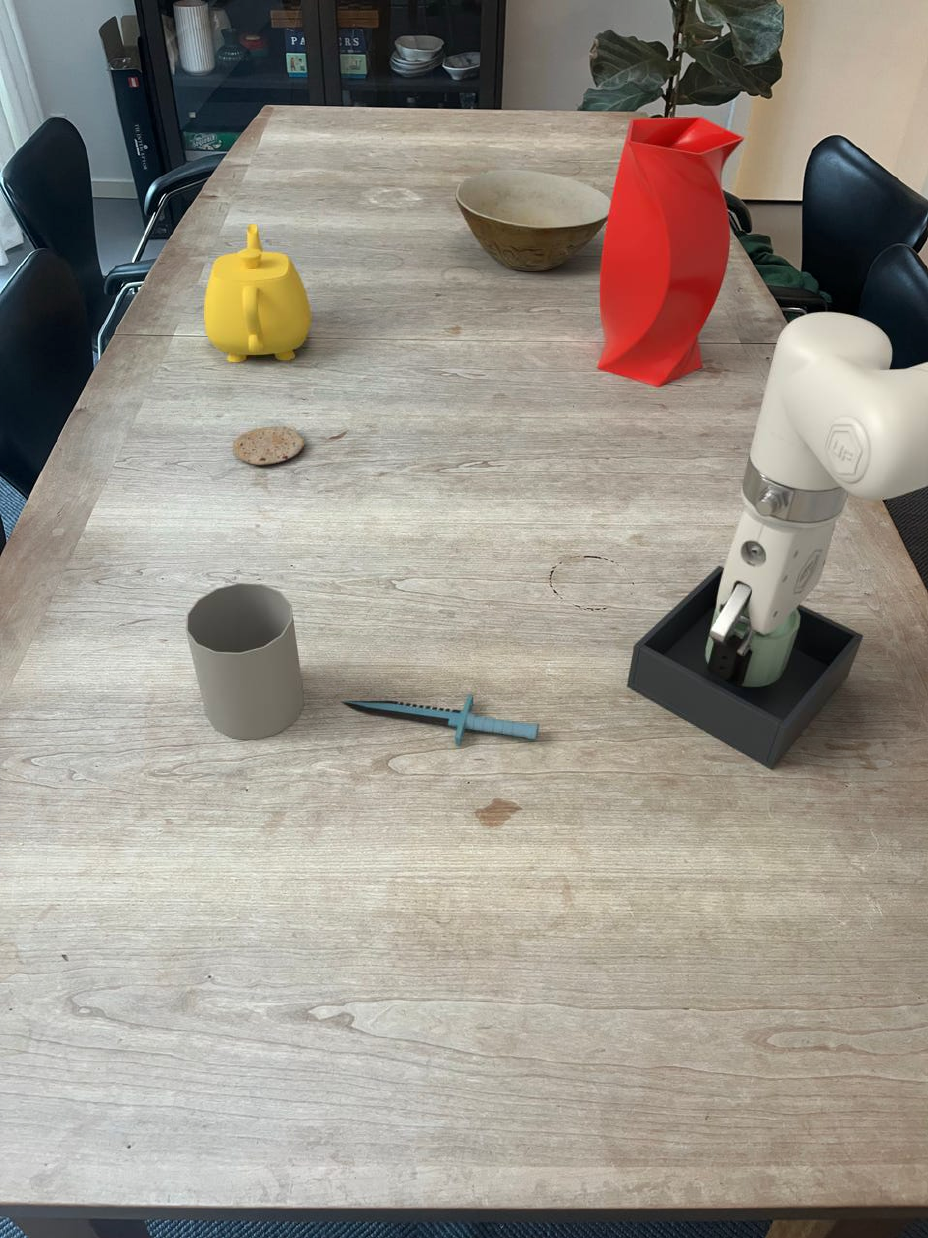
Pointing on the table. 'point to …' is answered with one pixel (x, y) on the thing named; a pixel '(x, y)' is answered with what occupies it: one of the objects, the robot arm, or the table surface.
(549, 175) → the bowl
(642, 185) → the vase
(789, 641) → the green tumbler
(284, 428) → the flatbread
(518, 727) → the knife
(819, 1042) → the table surface
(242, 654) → the cup
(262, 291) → the teapot
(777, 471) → the robot arm
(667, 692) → the dish tub
